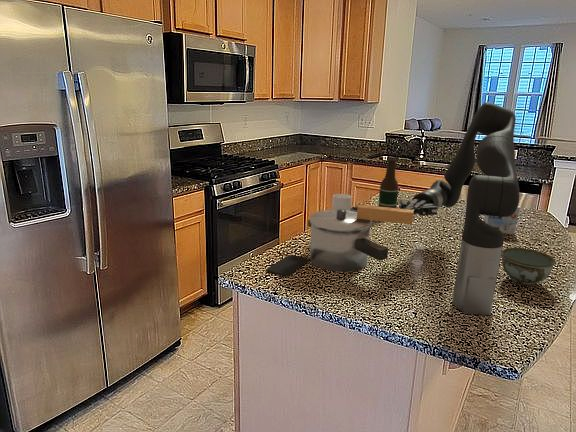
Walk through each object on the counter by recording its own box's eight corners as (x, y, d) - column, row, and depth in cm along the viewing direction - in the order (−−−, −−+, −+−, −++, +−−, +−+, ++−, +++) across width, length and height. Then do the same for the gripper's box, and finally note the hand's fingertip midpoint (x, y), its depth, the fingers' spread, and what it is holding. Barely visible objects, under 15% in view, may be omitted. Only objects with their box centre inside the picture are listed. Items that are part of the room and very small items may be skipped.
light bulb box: (485, 231, 167) (490, 205, 164) (482, 226, 173) (486, 200, 170) (515, 234, 165) (520, 207, 161) (511, 229, 171) (515, 203, 168)
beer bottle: (376, 214, 186) (381, 159, 179) (378, 210, 193) (383, 157, 186) (395, 216, 183) (400, 161, 177) (396, 212, 191) (401, 158, 184)
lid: (303, 228, 126) (303, 208, 124) (318, 211, 143) (319, 194, 141) (410, 241, 117) (412, 220, 116) (412, 222, 134) (414, 203, 133)
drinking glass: (348, 239, 154) (351, 198, 150) (329, 237, 156) (331, 197, 151) (349, 233, 161) (352, 194, 156) (331, 231, 162) (333, 193, 158)
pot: (292, 251, 141) (293, 216, 138) (335, 242, 150) (337, 209, 147) (356, 289, 115) (360, 248, 112) (403, 276, 125) (408, 237, 121)
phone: (310, 259, 134) (286, 275, 122) (310, 261, 135) (286, 278, 122) (290, 254, 138) (264, 269, 125) (289, 256, 138) (264, 272, 126)
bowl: (503, 268, 132) (508, 243, 130) (553, 280, 124) (559, 255, 122) (491, 282, 122) (496, 256, 120) (544, 297, 114) (551, 269, 112)
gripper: (409, 187, 143) (387, 196, 130) (449, 194, 136) (430, 204, 123) (407, 209, 146) (384, 220, 132) (446, 216, 138) (426, 229, 125)
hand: (406, 212), depth 127 cm, fingers closed
